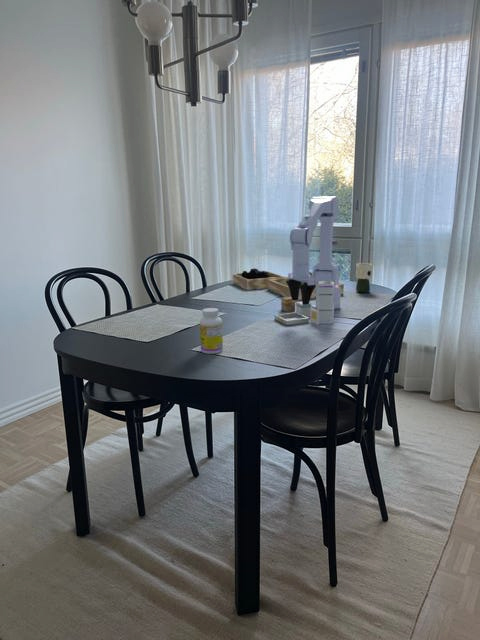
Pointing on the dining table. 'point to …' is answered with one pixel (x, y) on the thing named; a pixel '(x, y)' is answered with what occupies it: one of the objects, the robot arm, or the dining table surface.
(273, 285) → the oak planter frame
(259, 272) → the film camera
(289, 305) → the walnut block
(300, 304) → the grey block
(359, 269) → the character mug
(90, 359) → the dining table surface
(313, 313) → the label plate
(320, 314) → the syrup box
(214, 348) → the supplement bottle
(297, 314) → the parts tray
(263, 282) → the shallow wooden crate
